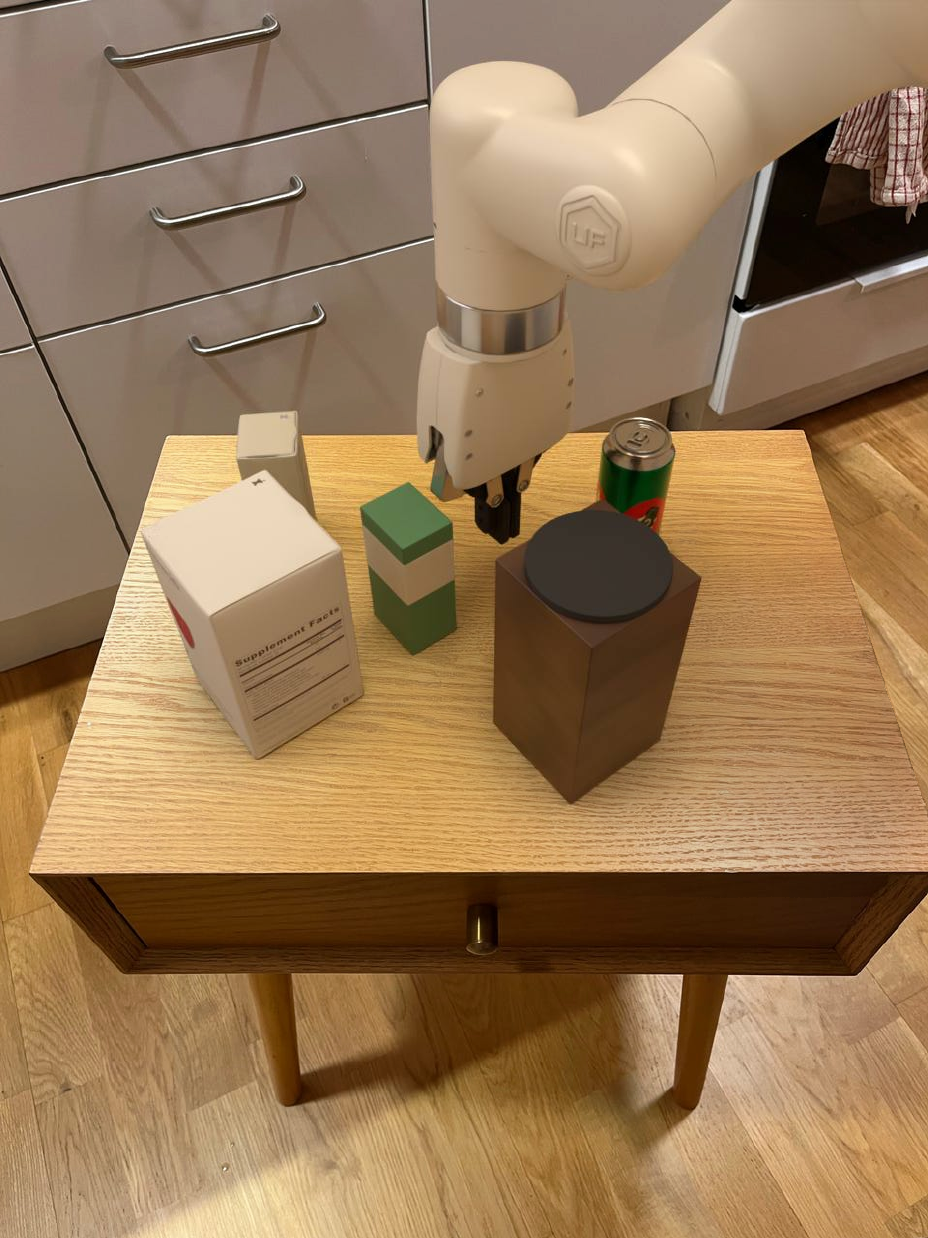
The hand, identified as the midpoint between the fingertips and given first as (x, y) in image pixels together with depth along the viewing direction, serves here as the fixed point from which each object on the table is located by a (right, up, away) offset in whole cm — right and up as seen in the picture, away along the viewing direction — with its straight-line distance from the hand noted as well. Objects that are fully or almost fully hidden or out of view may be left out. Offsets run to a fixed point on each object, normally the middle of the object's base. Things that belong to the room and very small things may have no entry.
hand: (497, 529), depth 70 cm
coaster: (+5, -4, -18) cm, 19 cm away
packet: (-5, -2, -2) cm, 6 cm away
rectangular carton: (-15, -11, -3) cm, 19 cm away
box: (-16, -1, +7) cm, 18 cm away
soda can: (+10, -2, +5) cm, 11 cm away
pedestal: (+5, -14, -6) cm, 16 cm away
